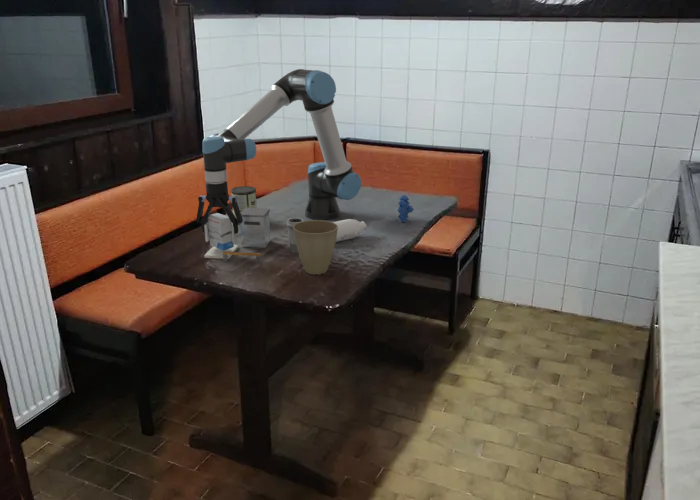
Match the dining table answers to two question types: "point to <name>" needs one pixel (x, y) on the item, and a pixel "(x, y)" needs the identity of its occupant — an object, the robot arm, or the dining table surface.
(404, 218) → the grapes
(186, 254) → the dining table surface
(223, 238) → the ink box
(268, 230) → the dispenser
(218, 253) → the tile
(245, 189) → the coffee can
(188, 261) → the dining table surface
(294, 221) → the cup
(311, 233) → the plant pot
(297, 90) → the robot arm
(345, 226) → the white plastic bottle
